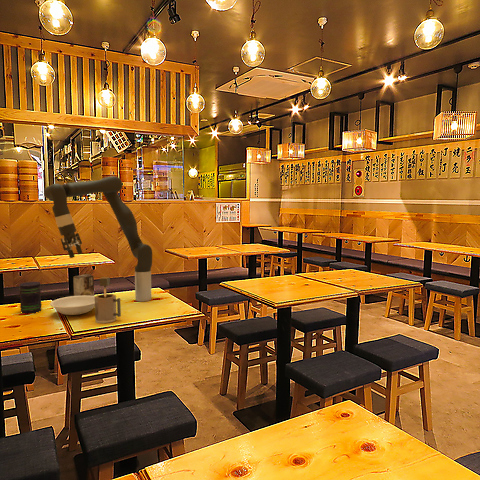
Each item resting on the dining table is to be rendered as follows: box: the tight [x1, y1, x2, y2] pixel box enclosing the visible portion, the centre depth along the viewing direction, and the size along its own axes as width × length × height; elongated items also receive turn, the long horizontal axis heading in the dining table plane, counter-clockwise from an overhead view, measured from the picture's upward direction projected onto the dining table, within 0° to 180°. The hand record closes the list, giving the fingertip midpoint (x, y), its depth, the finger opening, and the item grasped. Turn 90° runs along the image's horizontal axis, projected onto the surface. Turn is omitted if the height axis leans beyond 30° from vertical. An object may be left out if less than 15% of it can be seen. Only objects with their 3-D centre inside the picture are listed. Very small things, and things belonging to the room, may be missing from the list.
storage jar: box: [19, 281, 42, 314], centre depth 203 cm, size 10×10×15 cm
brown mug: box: [94, 293, 122, 324], centre depth 189 cm, size 10×12×12 cm
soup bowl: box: [49, 295, 97, 316], centre depth 201 cm, size 24×24×7 cm
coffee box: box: [72, 273, 95, 296], centre depth 219 cm, size 9×6×16 cm
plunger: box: [99, 276, 111, 298], centre depth 188 cm, size 6×6×18 cm
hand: (76, 255), depth 192 cm, fingers open, 8 cm apart
